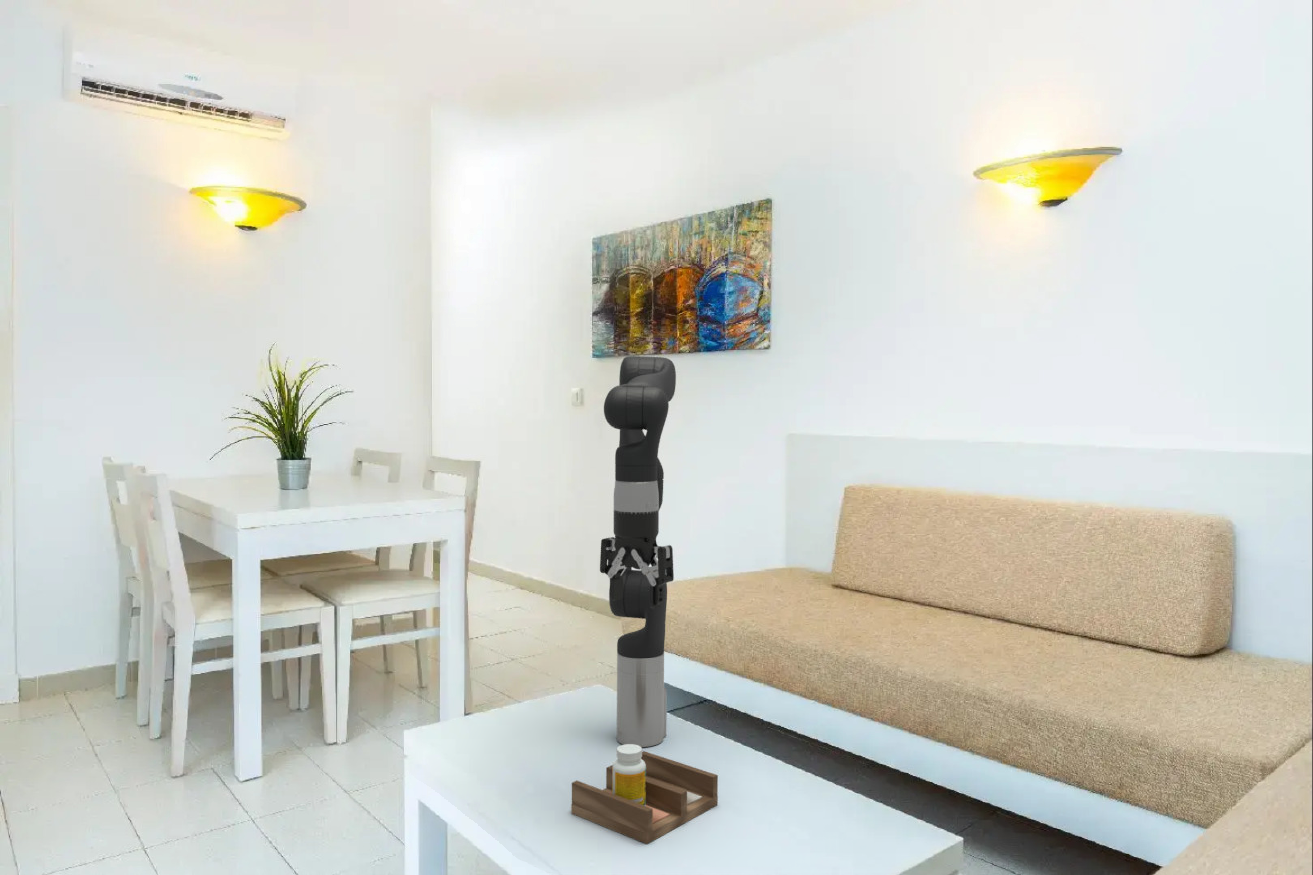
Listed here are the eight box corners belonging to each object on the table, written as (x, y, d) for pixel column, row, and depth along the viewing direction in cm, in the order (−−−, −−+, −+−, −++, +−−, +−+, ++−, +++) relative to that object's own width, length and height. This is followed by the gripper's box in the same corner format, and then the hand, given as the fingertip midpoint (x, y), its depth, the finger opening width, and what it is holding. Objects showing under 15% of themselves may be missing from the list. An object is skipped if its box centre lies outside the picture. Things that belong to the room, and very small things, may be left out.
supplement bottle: (607, 803, 152) (607, 745, 151) (637, 798, 154) (637, 740, 154) (620, 817, 147) (620, 757, 146) (651, 811, 149) (651, 751, 149)
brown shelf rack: (643, 778, 166) (644, 751, 166) (717, 804, 156) (717, 775, 155) (571, 813, 152) (571, 782, 152) (646, 844, 142) (647, 811, 142)
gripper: (683, 508, 155) (683, 606, 156) (619, 501, 164) (619, 593, 165) (654, 513, 149) (654, 614, 150) (589, 505, 158) (589, 601, 159)
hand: (635, 603), depth 158 cm, fingers open, 8 cm apart
